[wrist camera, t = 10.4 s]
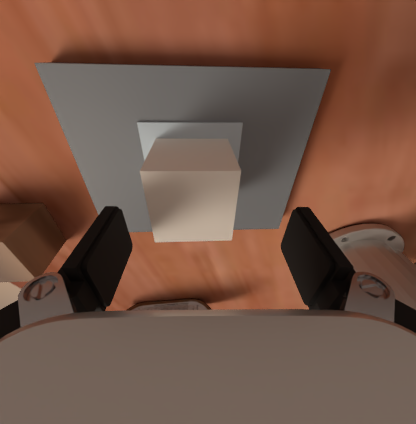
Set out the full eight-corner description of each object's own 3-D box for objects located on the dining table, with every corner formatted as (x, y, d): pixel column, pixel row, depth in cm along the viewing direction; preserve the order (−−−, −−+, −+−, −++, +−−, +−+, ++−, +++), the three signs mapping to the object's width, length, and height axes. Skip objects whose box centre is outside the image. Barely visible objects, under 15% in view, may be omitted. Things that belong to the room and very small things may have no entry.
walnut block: (43, 202, 18) (2, 242, 14) (66, 239, 21) (37, 280, 17) (-13, 203, 18) (-72, 243, 14) (18, 241, 21) (-23, 282, 17)
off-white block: (227, 138, 14) (241, 170, 10) (222, 197, 17) (231, 240, 13) (155, 138, 13) (139, 171, 9) (164, 198, 16) (154, 242, 13)
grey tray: (318, 68, 13) (333, 69, 12) (273, 218, 21) (279, 229, 20) (50, 62, 12) (31, 62, 11) (111, 222, 20) (105, 234, 19)
